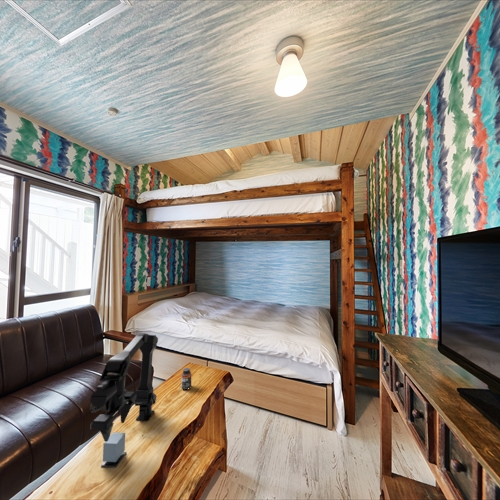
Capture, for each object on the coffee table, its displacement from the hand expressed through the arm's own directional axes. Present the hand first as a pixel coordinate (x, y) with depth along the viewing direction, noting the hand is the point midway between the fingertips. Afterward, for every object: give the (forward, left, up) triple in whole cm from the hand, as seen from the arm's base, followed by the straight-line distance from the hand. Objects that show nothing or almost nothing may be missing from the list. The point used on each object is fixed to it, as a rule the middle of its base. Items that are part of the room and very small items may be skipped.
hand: (114, 431), depth 83 cm
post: (0, 0, -11) cm, 11 cm away
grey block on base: (0, 0, -9) cm, 9 cm away
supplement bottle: (-49, +11, -11) cm, 51 cm away
